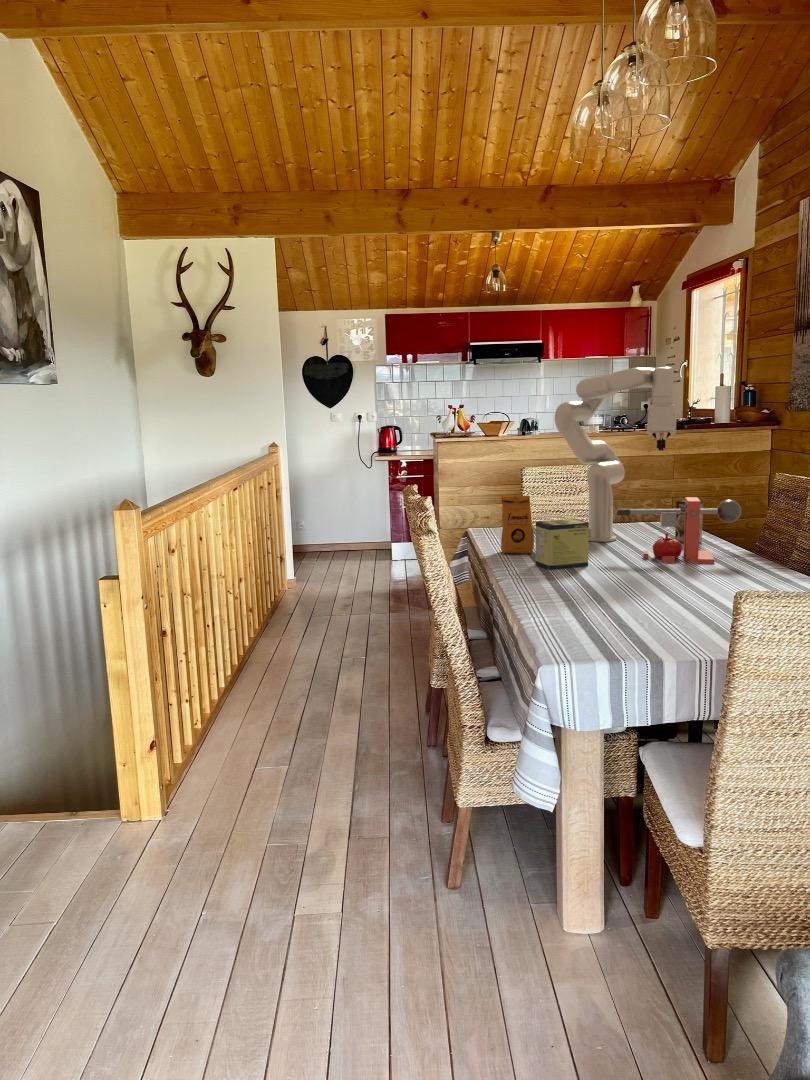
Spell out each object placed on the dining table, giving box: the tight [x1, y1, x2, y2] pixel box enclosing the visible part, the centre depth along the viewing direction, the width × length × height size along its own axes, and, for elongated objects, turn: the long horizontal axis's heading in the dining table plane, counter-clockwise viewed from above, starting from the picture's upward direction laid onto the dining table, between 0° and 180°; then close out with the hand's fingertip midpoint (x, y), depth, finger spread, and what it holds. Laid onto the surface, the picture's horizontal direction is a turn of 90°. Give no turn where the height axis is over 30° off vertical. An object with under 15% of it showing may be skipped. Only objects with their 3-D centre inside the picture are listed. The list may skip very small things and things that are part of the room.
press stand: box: [643, 496, 715, 565], centre depth 279 cm, size 23×16×21 cm
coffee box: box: [674, 499, 704, 543], centre depth 312 cm, size 9×6×16 cm
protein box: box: [535, 518, 589, 571], centre depth 274 cm, size 10×16×16 cm
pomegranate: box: [652, 532, 683, 560], centre depth 281 cm, size 10×10×9 cm
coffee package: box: [500, 495, 535, 555], centre depth 298 cm, size 10×12×22 cm
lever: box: [616, 499, 742, 528], centre depth 278 cm, size 42×8×9 cm, turn 75°
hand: (660, 450), depth 297 cm, fingers closed
